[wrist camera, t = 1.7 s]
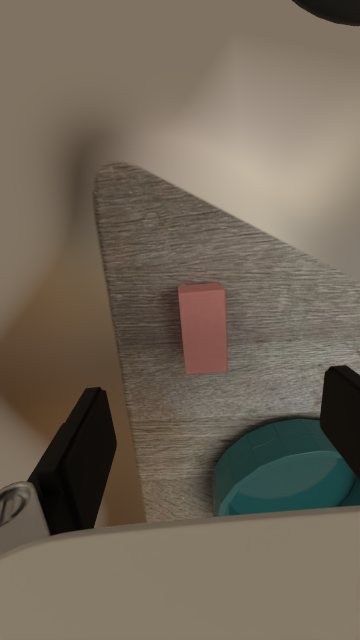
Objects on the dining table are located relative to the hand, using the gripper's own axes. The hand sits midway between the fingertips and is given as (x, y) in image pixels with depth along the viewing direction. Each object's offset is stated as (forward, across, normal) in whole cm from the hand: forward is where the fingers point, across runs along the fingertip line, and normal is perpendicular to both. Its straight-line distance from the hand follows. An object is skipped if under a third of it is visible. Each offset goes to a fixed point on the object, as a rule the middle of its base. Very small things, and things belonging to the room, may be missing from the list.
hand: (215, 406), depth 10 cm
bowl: (+9, -8, +16) cm, 20 cm away
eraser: (+9, 0, -1) cm, 9 cm away
